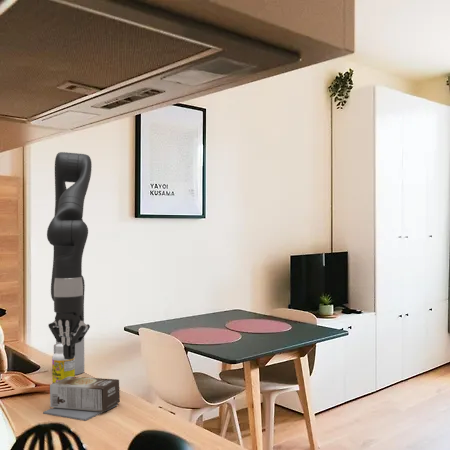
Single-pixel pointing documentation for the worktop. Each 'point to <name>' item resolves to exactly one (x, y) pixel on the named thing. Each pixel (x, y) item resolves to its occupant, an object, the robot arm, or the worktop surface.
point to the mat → (73, 413)
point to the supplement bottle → (61, 365)
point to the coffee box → (85, 393)
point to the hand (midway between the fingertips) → (69, 358)
